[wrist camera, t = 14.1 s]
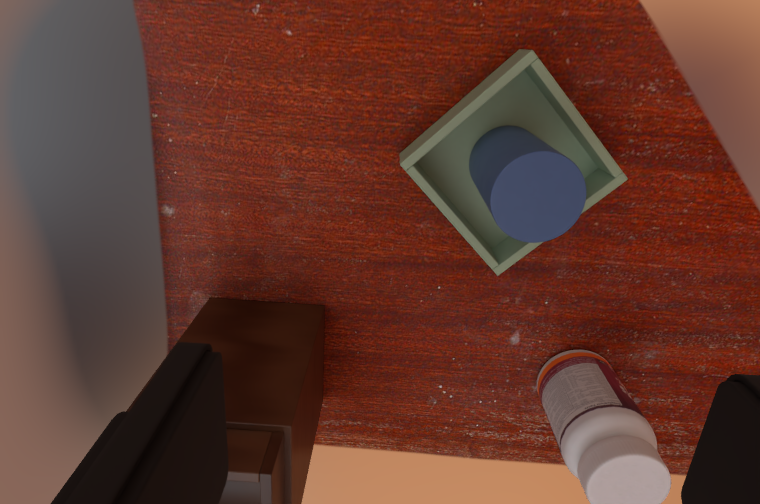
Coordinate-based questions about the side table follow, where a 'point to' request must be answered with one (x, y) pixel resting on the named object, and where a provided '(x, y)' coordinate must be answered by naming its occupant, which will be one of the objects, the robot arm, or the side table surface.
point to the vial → (527, 184)
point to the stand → (266, 392)
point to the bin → (491, 110)
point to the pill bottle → (601, 431)
